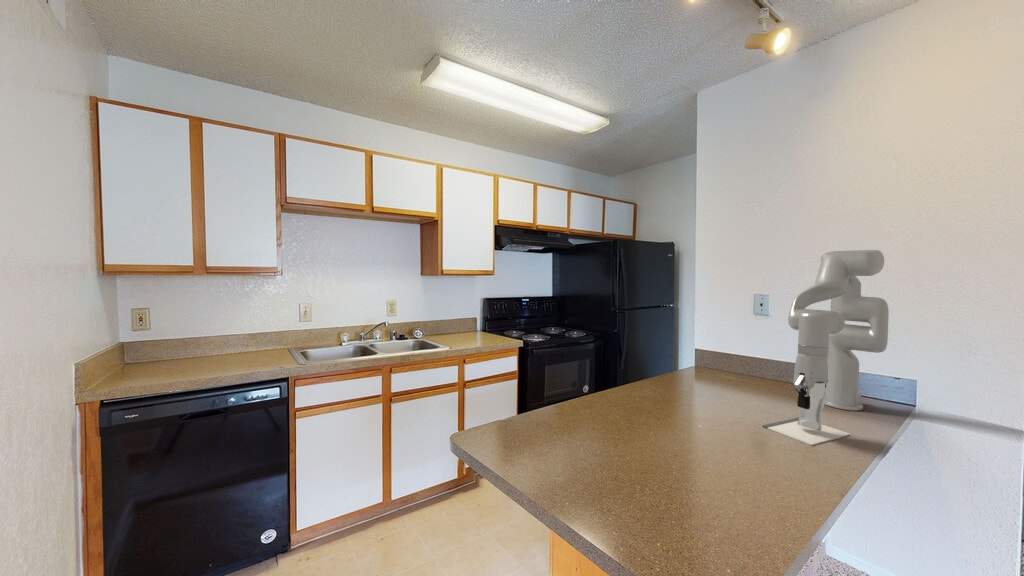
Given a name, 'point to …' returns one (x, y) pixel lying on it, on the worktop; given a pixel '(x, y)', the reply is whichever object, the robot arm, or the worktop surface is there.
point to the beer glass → (813, 408)
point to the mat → (805, 432)
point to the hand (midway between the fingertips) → (810, 405)
